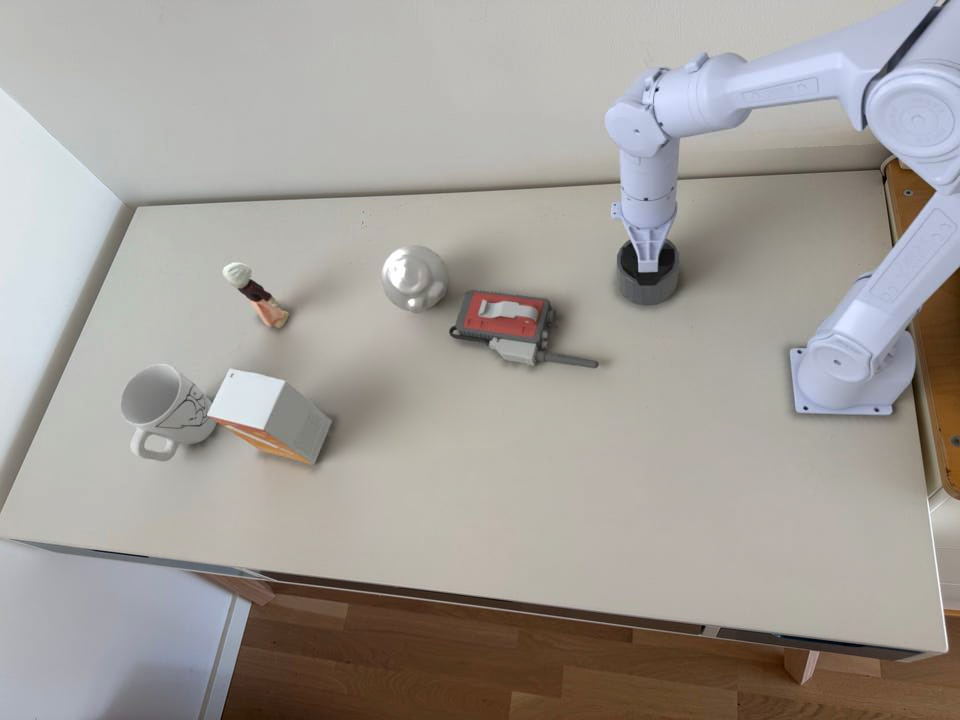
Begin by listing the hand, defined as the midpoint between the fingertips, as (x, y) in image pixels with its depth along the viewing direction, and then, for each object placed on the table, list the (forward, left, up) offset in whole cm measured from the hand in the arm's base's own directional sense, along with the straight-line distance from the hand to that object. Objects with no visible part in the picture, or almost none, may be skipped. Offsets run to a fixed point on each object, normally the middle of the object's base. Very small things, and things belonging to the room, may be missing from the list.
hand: (647, 256), depth 79 cm
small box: (+44, +23, -6) cm, 50 cm away
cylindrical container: (0, 0, -5) cm, 5 cm away
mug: (+60, +23, -6) cm, 64 cm away
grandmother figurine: (+52, +5, -6) cm, 53 cm away
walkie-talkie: (+15, +8, -6) cm, 18 cm away
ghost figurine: (+30, +2, -6) cm, 31 cm away
